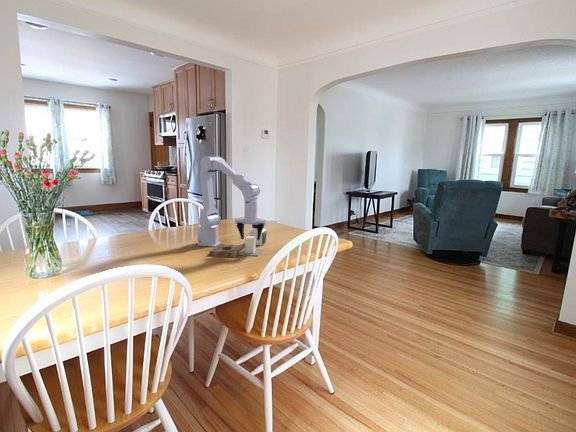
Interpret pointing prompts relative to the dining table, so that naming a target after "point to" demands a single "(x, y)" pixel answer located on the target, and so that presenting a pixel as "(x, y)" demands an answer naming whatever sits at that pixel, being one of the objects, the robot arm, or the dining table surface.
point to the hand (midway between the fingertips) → (250, 239)
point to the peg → (250, 244)
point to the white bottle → (255, 233)
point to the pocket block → (226, 250)
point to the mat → (250, 253)
